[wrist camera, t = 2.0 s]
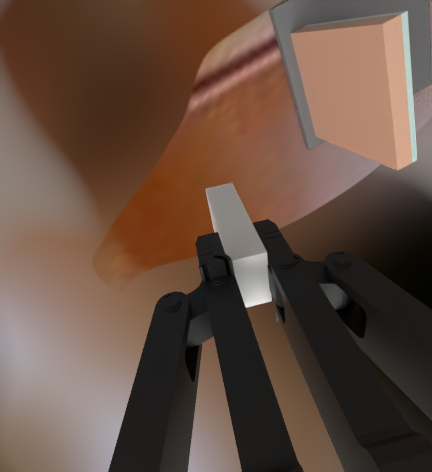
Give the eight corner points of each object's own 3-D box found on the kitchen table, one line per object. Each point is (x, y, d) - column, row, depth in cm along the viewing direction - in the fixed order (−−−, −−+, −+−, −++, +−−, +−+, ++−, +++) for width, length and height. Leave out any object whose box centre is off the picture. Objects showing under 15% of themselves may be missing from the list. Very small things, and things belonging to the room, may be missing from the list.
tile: (315, 136, 41) (397, 170, 29) (290, 33, 35) (382, 24, 23) (329, 129, 41) (417, 159, 29) (306, 24, 35) (407, 10, 23)
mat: (306, 148, 42) (309, 149, 42) (268, 10, 34) (272, 9, 33) (427, 83, 43) (432, 83, 42) (420, -71, 34) (426, -73, 33)
